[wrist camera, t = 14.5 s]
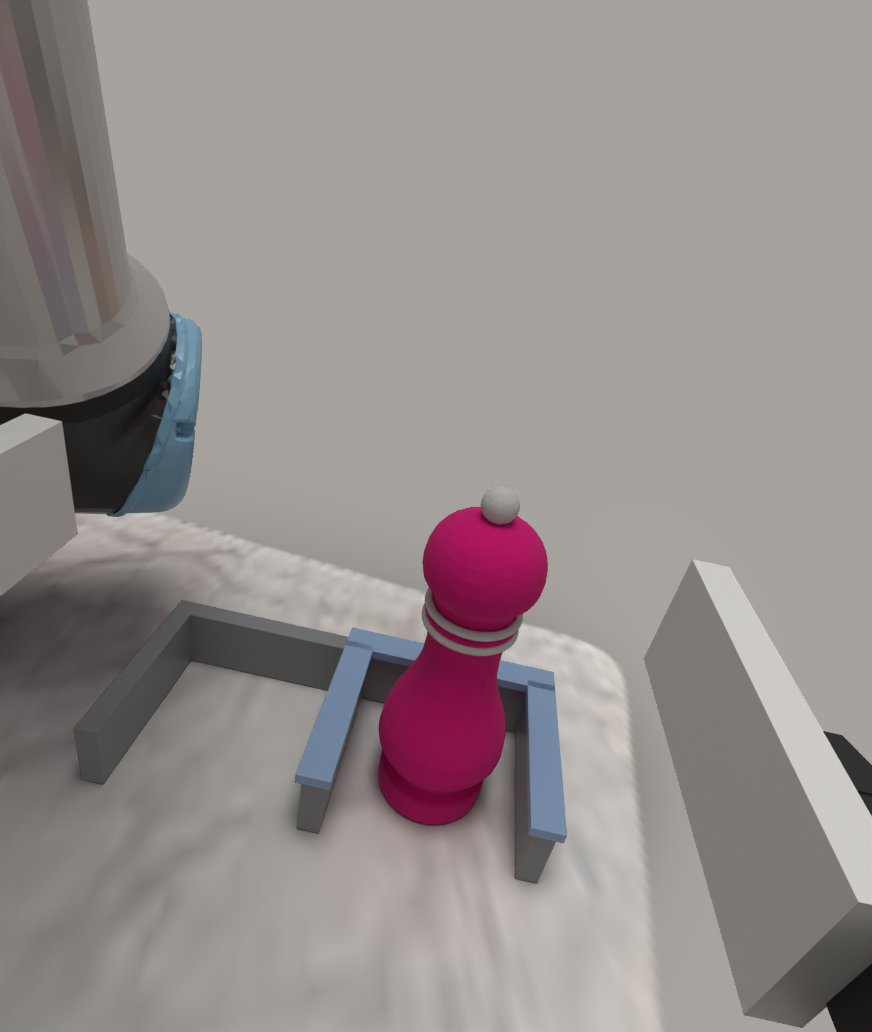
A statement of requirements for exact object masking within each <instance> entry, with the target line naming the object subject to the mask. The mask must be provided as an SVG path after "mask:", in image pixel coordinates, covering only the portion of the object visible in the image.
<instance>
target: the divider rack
mask: <svg viewBox="0 0 872 1032" xmlns="http://www.w3.org/2000/svg"><path fill="white" fill-rule="evenodd" d="M423 646H424V643H419V642H415V641H410V640H406V639H401V638H397V637H392V636H388V635H383V634H378V633H374V632H369V631H365V630H360V629H356V628H352V630H351V632H350V635H349V637H346V636H342V635H337V634H333V633H328V632H324V631H319V630H315V629H310V628H305V627H301V626H296V625H292V624H287V623H283V622H278V621H274V620H269V619H265V618H260V617H256V616H251V615H247V614H242V613H238V612H233V611H229V610H224V609H220V608H215V607H210V606H206V605H201V604H197V603H192V602H188V601H183V600H181V602H180V603H179V604H178V605H177V606H176V608H175V609H174V610H173V611H172V612H171V614H170V615H169V616H168V617H167V618H166V619H165V621H164V622H163V623H162V624H161V625H160V627H159V628H158V629H157V630H156V631H155V632H154V634H153V635H152V636H151V637H150V638H149V640H148V641H147V642H146V643H145V644H144V646H143V647H142V648H141V649H140V650H139V651H138V653H137V654H136V655H135V656H134V657H133V659H132V660H131V661H130V662H129V663H128V665H127V666H126V667H125V668H124V669H123V670H122V672H121V673H120V674H119V675H118V676H117V678H116V679H115V680H114V681H113V682H112V684H111V685H110V686H109V687H108V688H107V689H106V691H105V692H104V693H103V694H102V695H101V697H100V698H99V699H98V700H97V701H96V702H95V704H94V705H93V706H92V707H91V708H90V710H89V711H88V712H87V713H86V714H85V716H84V717H83V718H82V719H81V720H80V721H79V723H78V724H77V725H76V726H75V727H74V735H75V741H76V747H77V753H78V759H79V765H80V771H81V777H82V780H86V781H91V782H95V783H99V784H104V783H105V781H106V780H107V778H108V777H109V776H110V774H111V773H112V771H113V770H114V769H115V767H116V766H117V764H118V763H119V761H120V760H121V759H122V757H123V756H124V754H125V753H126V752H127V750H128V749H129V747H130V746H131V745H132V743H133V742H134V740H135V739H136V738H137V736H138V735H139V733H140V732H141V731H142V729H143V728H144V726H145V725H146V723H147V722H148V721H149V719H150V718H151V716H152V715H153V714H154V712H155V711H156V709H157V708H158V707H159V705H160V704H161V702H162V701H163V700H164V698H165V697H166V695H167V694H168V693H169V691H170V690H171V688H172V687H173V685H174V684H175V683H176V681H177V680H178V678H179V677H180V676H181V674H182V673H183V671H184V670H185V669H186V667H187V666H188V664H189V663H190V662H191V660H194V661H198V662H203V663H207V664H212V665H216V666H221V667H225V668H229V669H234V670H238V671H243V672H247V673H252V674H256V675H261V676H265V677H270V678H274V679H279V680H283V681H288V682H292V683H297V684H301V685H306V686H310V687H315V688H319V689H324V690H328V692H327V694H326V697H325V700H324V702H323V705H322V707H321V710H320V713H319V715H318V718H317V720H316V723H315V726H314V728H313V731H312V733H311V736H310V739H309V741H308V744H307V746H306V749H305V752H304V754H303V757H302V759H301V762H300V765H299V767H298V770H297V772H296V776H295V783H300V784H301V793H300V803H299V812H298V822H297V829H301V830H305V831H310V832H314V833H319V830H320V827H321V824H322V820H323V817H324V814H325V811H326V808H327V805H328V801H329V798H330V795H331V792H332V789H333V785H334V782H335V779H336V776H337V773H338V769H339V766H340V763H341V760H342V757H343V753H344V750H345V747H346V744H347V741H348V737H349V734H350V731H351V728H352V725H353V722H354V718H355V715H356V712H357V709H358V706H359V702H360V699H361V698H364V699H368V700H373V701H377V702H382V703H385V701H386V698H387V696H388V695H389V693H390V691H391V690H392V688H393V686H394V684H395V683H396V682H397V680H398V679H399V678H400V677H401V675H402V674H403V673H404V672H405V671H406V670H407V669H408V668H409V667H410V666H411V665H412V663H413V662H414V661H415V660H416V658H417V657H418V656H419V654H420V652H421V651H422V649H423ZM497 687H498V691H499V695H500V698H501V702H502V705H503V709H504V715H505V730H507V731H512V732H515V878H516V879H520V880H525V881H529V882H533V883H537V882H538V880H539V878H540V875H541V873H542V871H543V869H544V866H545V864H546V862H547V860H548V858H549V855H550V853H551V851H552V849H553V847H554V844H555V842H560V843H564V841H565V839H566V837H567V831H566V819H565V807H564V794H563V782H562V770H561V757H560V745H559V733H558V720H557V708H556V696H555V683H554V672H551V671H546V670H542V669H537V668H533V667H528V666H523V665H519V664H514V663H510V662H505V661H501V660H500V663H499V668H498V673H497Z"/></svg>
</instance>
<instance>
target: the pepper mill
mask: <svg viewBox="0 0 872 1032" xmlns="http://www.w3.org/2000/svg"><path fill="white" fill-rule="evenodd" d="M519 508H520V503H519V498H518V496H517V495H516V493H515V492H514V491H513V490H511V489H510V488H508V487H505V486H496V487H493V488H491V489H489V490H488V491H487V492H486V493H485V494H484V496H483V498H482V501H481V507H470V508H466V509H462V510H458V511H456V512H454V513H452V514H450V515H448V516H447V517H446V518H445V519H443V520H442V521H441V522H440V523H439V524H438V525H437V526H436V528H435V529H434V531H433V532H432V534H431V535H430V537H429V539H428V542H427V545H426V548H425V550H424V555H423V572H424V577H425V580H426V582H427V584H428V586H429V588H428V590H427V592H426V595H425V604H424V606H423V609H422V620H423V623H424V626H425V628H426V629H427V631H428V632H427V637H426V640H425V643H424V646H423V649H422V651H421V652H420V654H419V656H418V657H417V658H416V660H415V661H414V662H413V663H412V665H411V666H410V667H409V668H408V669H407V670H406V671H405V672H404V673H403V674H402V675H401V677H400V678H399V679H398V680H397V682H396V683H395V684H394V686H393V688H392V690H391V691H390V693H389V695H388V696H387V698H386V701H385V704H384V707H383V710H382V713H381V716H380V721H379V737H380V743H381V746H382V748H383V749H382V754H381V759H380V765H379V772H378V777H379V783H380V787H381V789H382V792H383V794H384V796H385V797H386V799H387V800H388V802H389V803H390V804H391V806H392V807H393V808H395V809H396V810H397V811H398V812H399V813H400V814H402V815H404V816H405V817H407V818H409V819H411V820H413V821H415V822H420V823H425V824H437V825H439V824H445V823H450V822H453V821H456V820H458V819H459V818H461V817H462V816H464V815H465V814H467V813H468V811H469V810H470V809H471V808H472V807H473V805H474V804H475V802H476V800H477V798H478V795H479V792H480V789H481V786H482V782H483V780H484V779H485V778H486V777H487V776H488V775H490V773H491V772H492V771H493V769H494V768H495V767H496V765H497V763H498V761H499V759H500V757H501V752H502V748H503V744H504V739H505V715H504V709H503V705H502V702H501V698H500V695H499V691H498V687H497V673H498V668H499V663H500V659H501V655H502V653H503V651H505V650H507V649H509V648H510V647H511V646H512V645H513V644H514V643H515V641H516V639H517V636H518V629H519V628H520V626H521V624H522V619H523V613H524V612H526V611H528V610H529V609H530V608H531V607H532V606H533V605H534V604H535V603H536V602H537V600H538V599H539V597H540V595H541V593H542V591H543V588H544V586H545V583H546V577H547V572H548V562H547V555H546V550H545V548H544V545H543V542H542V541H541V539H540V537H539V536H538V534H537V533H536V532H535V531H534V529H533V528H532V527H531V526H530V525H529V524H528V523H527V522H525V521H524V520H522V519H521V518H519V517H518V516H517V514H518V512H519Z"/></svg>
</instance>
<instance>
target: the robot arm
mask: <svg viewBox="0 0 872 1032" xmlns="http://www.w3.org/2000/svg"><path fill="white" fill-rule="evenodd" d="M201 336H202V335H201V330H200V328H199V326H198V325H197V324H196V323H195V322H194V321H192V320H190V319H186V318H182V317H181V316H180V315H179V314H173V313H169V309H168V305H167V301H166V298H165V295H164V291H163V290H162V288H161V286H160V285H159V283H158V281H157V280H156V279H155V278H154V276H153V275H152V274H151V273H150V272H149V270H147V268H145V267H144V266H143V265H142V264H141V263H140V262H139V261H138V260H136V259H135V258H134V257H132V256H131V255H130V254H128V253H127V252H126V246H125V239H124V234H123V227H122V220H121V214H120V208H119V201H118V194H117V188H116V181H115V175H114V169H113V162H112V156H111V149H110V144H109V137H108V130H107V124H106V118H105V111H104V105H103V98H102V92H101V85H100V79H99V72H98V66H97V59H96V53H95V47H94V40H93V34H92V27H91V21H90V14H89V8H88V2H87V0H0V596H1V595H3V594H4V593H5V592H6V591H8V590H9V589H10V588H11V587H13V586H14V585H15V584H16V583H18V582H19V581H20V580H21V579H23V578H24V577H25V576H26V575H28V574H29V573H30V572H31V571H32V570H34V569H35V568H36V567H37V566H39V565H40V564H41V563H42V562H44V561H45V560H46V559H47V558H49V557H50V556H51V555H52V554H54V553H55V552H56V551H57V550H59V549H60V548H61V547H62V546H64V545H65V544H66V543H67V542H69V541H70V540H71V539H72V538H74V537H75V536H76V535H77V534H78V533H77V526H76V519H75V513H86V514H107V515H108V516H112V517H120V516H123V515H125V514H126V513H151V512H164V511H167V510H170V509H172V508H174V507H175V506H176V505H178V504H179V503H180V502H181V501H182V499H183V498H184V496H185V494H186V491H187V487H188V483H189V477H190V472H191V465H192V457H193V449H194V438H195V437H194V435H195V431H194V427H195V425H196V415H197V410H198V400H199V389H200V374H201V357H202V337H201ZM644 661H645V664H646V668H647V671H648V675H649V679H650V682H651V685H652V689H653V693H654V696H655V700H656V704H657V707H658V711H659V714H660V718H661V721H662V725H663V728H664V732H665V736H666V739H667V742H668V746H669V750H670V753H671V757H672V761H673V764H674V768H675V771H676V775H677V778H678V782H679V786H680V789H681V793H682V796H683V799H684V803H685V807H686V810H687V814H688V817H689V821H690V825H691V828H692V832H693V836H694V839H695V843H696V846H697V849H698V853H699V857H700V860H701V864H702V868H703V871H704V875H705V878H706V881H707V885H708V889H709V893H710V896H711V899H712V903H713V907H714V910H715V914H716V917H717V921H718V925H719V928H720V932H721V935H722V939H723V942H724V946H725V949H726V953H727V956H728V960H729V964H730V967H731V971H732V975H733V978H734V981H735V985H736V988H737V992H738V996H739V999H740V1003H741V1007H742V1010H743V1014H744V1015H747V1016H751V1017H755V1018H760V1019H765V1020H769V1021H774V1022H778V1023H782V1024H787V1025H791V1026H796V1027H800V1028H803V1027H804V1026H805V1025H806V1024H807V1023H808V1022H809V1021H811V1020H812V1019H813V1018H814V1017H815V1016H816V1015H818V1013H820V1012H821V1011H822V1010H823V1009H825V1008H826V1007H827V1008H828V1011H829V1013H830V1016H831V1018H832V1021H833V1024H834V1026H835V1029H836V1031H837V1032H872V765H871V764H870V763H869V762H868V761H867V760H866V759H865V758H864V757H863V756H862V755H861V754H860V753H859V752H858V751H857V750H856V749H855V748H854V747H853V746H852V745H851V744H850V743H849V742H848V741H847V740H846V739H845V738H844V737H843V736H842V735H838V734H833V733H829V732H825V731H822V729H821V727H820V725H819V724H818V722H817V720H816V718H815V716H814V715H813V713H812V711H811V709H810V708H809V706H808V704H807V702H806V701H805V699H804V697H803V695H802V694H801V692H800V690H799V688H798V687H797V685H796V683H795V681H794V680H793V678H792V676H791V674H790V673H789V671H788V669H787V668H786V666H785V664H784V662H783V660H782V659H781V657H780V655H779V653H778V652H777V650H776V648H775V646H774V645H773V643H772V641H771V639H770V638H769V636H768V634H767V632H766V631H765V629H764V627H763V625H762V624H761V622H760V620H759V618H758V617H757V615H756V613H755V611H754V610H753V608H752V606H751V605H750V603H749V601H748V599H747V597H746V596H745V594H744V592H743V591H742V589H741V587H740V585H739V583H738V582H737V580H736V578H735V577H734V575H733V573H732V571H731V569H730V568H729V567H726V566H721V565H717V564H712V563H707V562H703V561H698V560H694V559H692V561H691V563H690V565H689V567H688V569H687V571H686V573H685V575H684V578H683V579H682V581H681V583H680V585H679V587H678V590H677V592H676V594H675V596H674V598H673V600H672V602H671V604H670V606H669V608H668V610H667V612H666V614H665V616H664V618H663V620H662V622H661V624H660V626H659V628H658V631H657V633H656V635H655V637H654V639H653V641H652V643H651V645H650V647H649V649H648V651H647V653H646V655H645V658H644Z"/></svg>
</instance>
